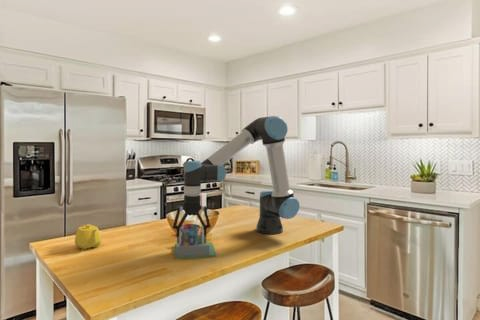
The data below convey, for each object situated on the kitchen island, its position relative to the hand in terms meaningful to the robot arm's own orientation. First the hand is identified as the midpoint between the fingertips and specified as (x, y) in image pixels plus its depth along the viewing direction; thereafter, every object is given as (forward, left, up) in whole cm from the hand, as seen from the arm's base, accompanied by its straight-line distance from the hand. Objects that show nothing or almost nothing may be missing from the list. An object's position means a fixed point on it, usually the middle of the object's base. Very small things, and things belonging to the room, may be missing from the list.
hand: (191, 242), depth 149 cm
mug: (0, -1, -3) cm, 3 cm away
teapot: (+48, -13, -4) cm, 49 cm away
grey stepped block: (-1, 0, -4) cm, 4 cm away
